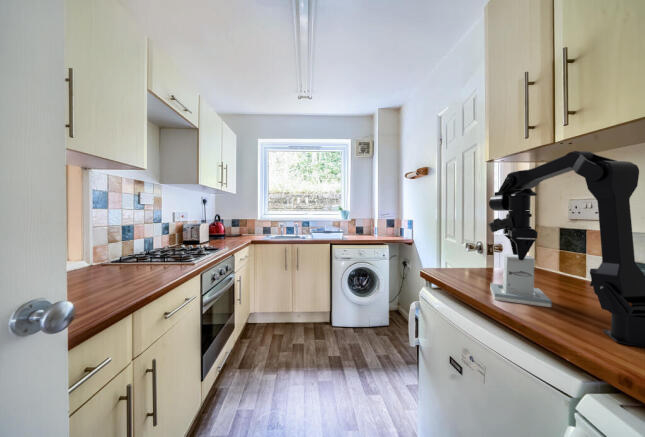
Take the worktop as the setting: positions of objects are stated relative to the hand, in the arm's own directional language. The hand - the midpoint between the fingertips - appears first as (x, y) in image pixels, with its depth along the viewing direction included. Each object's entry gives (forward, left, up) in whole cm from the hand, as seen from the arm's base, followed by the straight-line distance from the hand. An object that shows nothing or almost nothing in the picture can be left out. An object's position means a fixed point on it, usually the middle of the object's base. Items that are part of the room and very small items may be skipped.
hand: (518, 257), depth 86 cm
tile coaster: (0, 0, -13) cm, 13 cm away
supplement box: (0, 0, -12) cm, 12 cm away
